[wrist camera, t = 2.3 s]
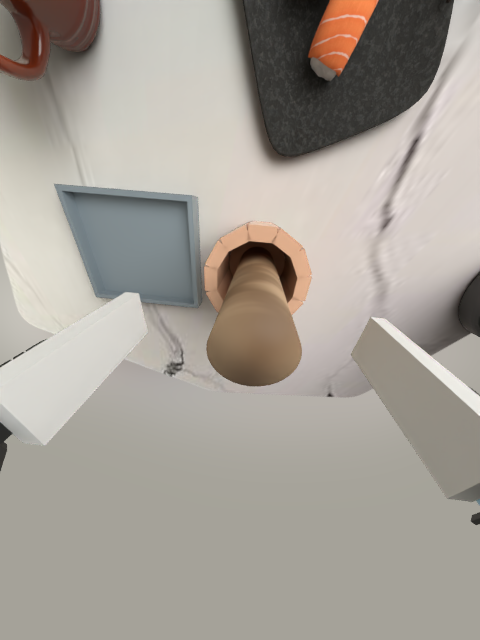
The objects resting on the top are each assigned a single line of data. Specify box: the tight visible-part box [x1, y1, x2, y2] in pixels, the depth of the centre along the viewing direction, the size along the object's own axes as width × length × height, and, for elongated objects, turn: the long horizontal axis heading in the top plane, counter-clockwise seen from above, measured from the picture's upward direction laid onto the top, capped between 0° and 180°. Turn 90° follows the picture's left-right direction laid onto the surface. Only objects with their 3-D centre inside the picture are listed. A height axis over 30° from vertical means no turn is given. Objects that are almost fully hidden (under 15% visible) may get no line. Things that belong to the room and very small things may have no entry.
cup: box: [204, 221, 312, 315], centre depth 21 cm, size 10×10×9 cm
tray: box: [54, 184, 202, 308], centre depth 24 cm, size 16×14×2 cm
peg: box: [207, 246, 302, 386], centre depth 16 cm, size 4×4×18 cm
